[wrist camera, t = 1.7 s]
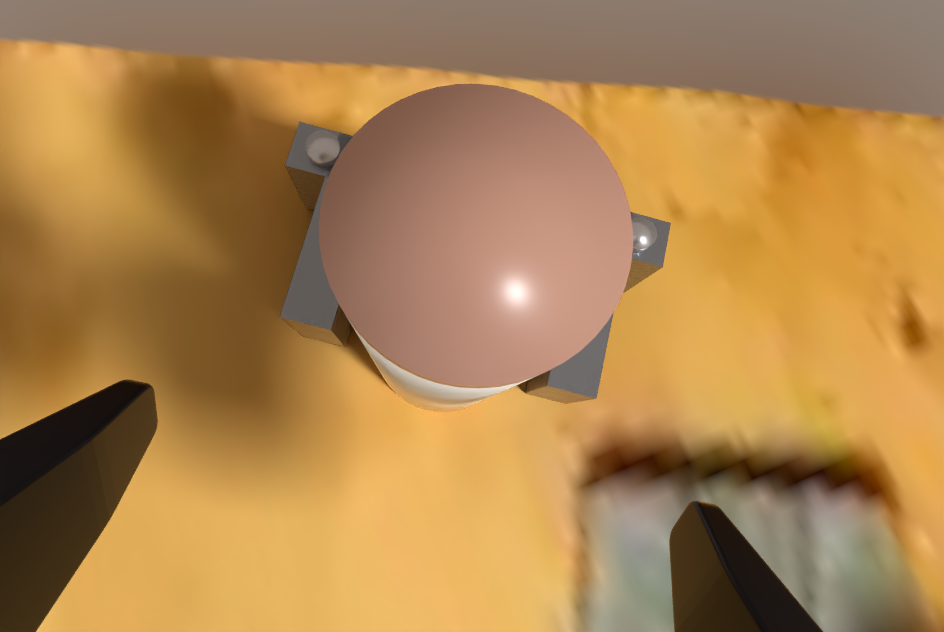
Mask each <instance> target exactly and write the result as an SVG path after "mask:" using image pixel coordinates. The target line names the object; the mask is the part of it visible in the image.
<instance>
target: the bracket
mask: <svg viewBox="0 0 944 632" xmlns="http://www.w3.org/2000/svg"><path fill="white" fill-rule="evenodd" d="M352 137H353V136H350V135H346V134H342V133H339V132H335V131H331V130H328V129H324V128H320V127H317V126H313V125H309V124H306V123H302V122H300V123H299V126H298V129H297V131H296V134H295V137H294V140H293V143H292V146H291V149H290V152H289V155H288V158H287V161H286V164H285V167H286V169H287V171H288V173H289V175H290V177H291V179H292V181H293V183H294V185H295V187H296V189H297V191H298V193H299V195H300V197H301V199H302V201H303V203H304V205H305V207H306V209H310V210H314V213H313V216H312V219H311V222H310V225H309V228H308V231H307V234H306V237H305V241H304V244H303V247H302V250H301V253H300V256H299V259H298V262H297V265H296V268H295V271H294V275H293V278H292V281H291V284H290V287H289V290H288V293H287V296H286V299H285V302H284V305H283V308H282V312H281V315H280V318H281V319H283V320H284V321H285V322H286V323H287V324H289V325H290V326H291V327H292V328H293V329H295V330H296V331H297V332H298V333H299V334H301V335H302V336H304V337H308V338H311V339H315V340H319V341H323V342H327V343H331V344H335V345H339V346H343V347H345V346H346V342H347V339H348V336H349V332H350V329H351V326H352V325H351V323H350V322H349V320H348V318H347V317H346V315H345V313H344V312H343V310H342V308H341V307H340V305H339V303H338V301H337V299H336V297H335V295H334V293H333V291H332V289H331V287H330V285H329V282H328V279H327V276H326V273H325V270H324V267H323V262H322V257H321V251H320V246H319V216H320V206H321V201H322V197H323V193H324V189H325V185H326V183H327V180H328V178H329V175H330V173H331V170H332V168H333V166H334V164H335V162H336V161H337V159H338V157H339V155H340V154H341V152H342V150H343V149H344V148H345V146H346V145H347V144H348V142H349V141H350V140H351V138H352ZM630 213H631V220H632V227H633V252H632V260H631V268H630V272H629V275H628V279H627V283H626V286H625V289H624V291H623V293H624V292H626V291H627V290H629V289H630V288H632V287H633V286H635V285H636V284H638V283H639V282H641V281H642V280H644V279H645V278H647V277H648V276H650V275H651V274H653V273H655V272H656V271H658V270H659V269H661V268H662V267H663V263H664V257H665V252H666V246H667V241H668V235H669V230H670V224H671V223H669V222H665V221H661V220H658V219H654V218H650V217H647V216H643V215H639V214H636V213H632V212H630ZM612 317H613V313H612V315H611V317H610V319H609V320H608V322H607V323H606V324H605V325H604V327H603V328H602V329H601V330H600V332H599V333H598V334H597V335H596V337H595V338H594V339H593V340H591V341H590V342H589V343H588V344H587V345H586V346H585V347H584V348H583V349H582V350H581V351H580V352H578V353H577V354H575V355H574V356H573V357H571V358H570V359H568V360H567V361H565V362H564V363H562V364H560V365H558V366H556V367H555V368H553V369H551V370H549V371H547V372H545V373H543V374H540V375H538V376H536V377H534V378H531V379H529V380H528V384H527V388H526V394H530V395H534V396H538V397H542V398H546V399H550V400H553V401H557V402H561V403H565V404H568V403H574V402H579V401H585V400H591V399H596V398H597V393H598V388H599V383H600V378H601V373H602V368H603V362H604V357H605V352H606V347H607V342H608V337H609V332H610V327H611V322H612Z"/></svg>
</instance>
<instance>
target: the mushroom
mask: <svg viewBox="0 0 944 632" xmlns="http://www.w3.org/2000/svg"><path fill="white" fill-rule="evenodd" d="M319 246H320V251H321V257H322V262H323V267H324V270H325V273H326V276H327V279H328V282H329V285H330V287H331V289H332V291H333V293H334V295H335V297H336V299H337V301H338V303H339V305H340V307H341V308H342V310H343V312H344V313H345V315H346V317H347V318H348V320H349V322H350V323H351V325H352V327H353V328H354V330H355V332H356V333H357V335H358V337H359V338H360V340H361V342H362V343H363V345H364V347H365V348H366V350H367V352H368V353H369V355H370V357H371V358H372V360H373V362H374V363H375V365H376V367H377V368H378V370H379V371H380V373H381V375H382V376H383V378H384V380H385V381H386V383H387V384H388V385H389V387H390V388H391V389H392V390H393V391H394V392H395V393H396V394H397V395H398V396H399V397H401V398H402V399H403V400H405V401H407V402H408V403H410V404H412V405H414V406H416V407H419V408H422V409H425V410H430V411H437V412H448V411H455V410H460V409H463V408H466V407H469V406H471V405H473V404H476V403H478V402H480V401H482V400H485V399H487V398H489V397H491V396H494V395H496V394H498V393H500V392H502V391H505V390H507V389H509V388H511V387H514V386H516V385H518V384H520V383H523V382H525V381H527V380H529V379H531V378H534V377H536V376H538V375H540V374H543V373H545V372H547V371H549V370H551V369H553V368H555V367H556V366H558V365H560V364H562V363H564V362H565V361H567V360H568V359H570V358H571V357H573V356H574V355H575V354H577V353H578V352H580V351H581V350H582V349H583V348H584V347H585V346H586V345H587V344H588V343H589V342H590V341H591V340H593V339H594V338H595V337H596V335H597V334H598V333H599V332H600V330H601V329H602V328H603V327H604V325H605V324H606V323H607V322H608V320H609V319H610V317H611V315H612V313H613V312H614V310H615V308H616V307H617V305H618V303H619V301H620V298H621V296H622V294H623V291H624V289H625V286H626V283H627V279H628V275H629V272H630V268H631V260H632V252H633V227H632V220H631V213H630V208H629V204H628V201H627V197H626V193H625V190H624V188H623V186H622V183H621V181H620V179H619V176H618V174H617V172H616V170H615V169H614V167H613V165H612V163H611V162H610V160H609V158H608V157H607V155H606V154H605V153H604V151H603V150H602V149H601V147H600V146H599V145H598V143H597V142H596V141H595V140H594V139H593V138H592V137H591V136H590V135H589V134H588V133H587V132H586V131H585V129H584V128H583V127H581V126H580V125H579V124H578V123H576V122H575V121H574V120H573V119H572V118H570V117H569V116H568V115H566V114H565V113H563V112H562V111H560V110H558V109H557V108H555V107H554V106H552V105H550V104H548V103H546V102H544V101H542V100H540V99H538V98H536V97H534V96H531V95H528V94H525V93H522V92H519V91H517V90H513V89H508V88H504V87H499V86H493V85H482V84H456V85H449V86H442V87H436V88H433V89H429V90H425V91H421V92H418V93H416V94H413V95H411V96H408V97H406V98H403V99H401V100H399V101H397V102H396V103H394V104H392V105H390V106H389V107H387V108H385V109H383V110H382V111H381V112H380V113H378V114H377V115H376V116H374V117H373V118H372V119H370V120H369V121H368V122H367V123H366V124H365V125H364V126H363V127H362V128H361V129H360V130H359V131H358V132H357V133H356V134H355V135H354V136H353V137H352V138H351V140H350V141H349V142H348V144H347V145H346V146H345V148H344V149H343V150H342V152H341V154H340V155H339V157H338V159H337V161H336V162H335V164H334V166H333V168H332V170H331V173H330V175H329V178H328V180H327V183H326V185H325V189H324V193H323V197H322V201H321V206H320V216H319Z"/></svg>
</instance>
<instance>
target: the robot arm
mask: <svg viewBox="0 0 944 632" xmlns="http://www.w3.org/2000/svg"><path fill="white" fill-rule="evenodd" d="M157 422H158V419H157V411H156V402H155V394H154V389H153V387H152V386H151V385H149V384H147V383H143V382H138V381H133V380H122V381H119V382H117V383H115V384H113V385H111V386H109V387H107V388H105V389H103V390H101V391H99V392H97V393H95V394H93V395H90V396H88V397H86V398H84V399H82V400H80V401H78V402H76V403H74V404H72V405H70V406H68V407H66V408H64V409H62V410H60V411H58V412H56V413H53V414H51V415H49V416H47V417H45V418H43V419H41V420H39V421H37V422H35V423H33V424H31V425H29V426H27V427H25V428H23V429H21V430H19V431H16V432H14V433H12V434H10V435H8V436H6V437H4V438H2V439H0V632H36V631H37V629H38V628H39V626H40V625H41V623H42V622H43V620H44V619H45V617H46V616H47V614H48V613H49V611H50V610H51V608H52V607H53V605H54V604H55V602H56V601H57V599H58V598H59V596H60V595H61V593H62V592H63V590H64V589H65V587H66V586H67V584H68V583H69V581H70V580H71V578H72V577H73V575H74V574H75V572H76V571H77V569H78V568H79V566H80V565H81V563H82V562H83V560H84V559H85V557H86V555H87V554H88V552H89V551H90V549H91V548H92V546H93V545H94V543H95V542H96V540H97V539H98V537H99V536H100V534H101V533H102V531H103V530H104V528H105V527H106V525H107V523H108V522H109V520H110V518H111V517H112V515H113V513H114V511H115V509H116V508H117V506H118V504H119V502H120V500H121V498H122V496H123V494H124V492H125V490H126V488H127V486H128V485H129V483H130V481H131V479H132V477H133V475H134V473H135V471H136V469H137V467H138V465H139V463H140V461H141V459H142V458H143V456H144V454H145V452H146V450H147V448H148V446H149V444H150V442H151V440H152V438H153V436H154V434H155V431H156V428H157ZM670 561H671V580H672V598H673V617H674V629H675V632H823V631H822V630H821V628H820V627H819V626H818V625H817V624H816V622H815V621H814V620H813V619H812V618H811V616H810V615H809V614H808V613H807V612H806V610H805V609H804V608H803V607H802V606H801V604H800V603H799V602H798V601H797V600H796V598H795V597H794V596H793V595H792V594H791V592H790V591H789V590H788V589H787V588H786V586H785V585H784V584H783V583H782V582H781V580H780V579H779V578H778V577H777V576H776V574H775V573H774V572H773V571H772V570H771V569H770V567H769V566H768V565H767V564H766V563H765V561H764V560H763V559H762V558H761V557H760V555H759V554H758V553H757V552H756V551H755V549H754V548H753V547H752V546H751V545H750V543H749V542H748V541H747V540H746V539H745V537H744V536H743V535H742V534H741V533H740V531H739V530H738V529H737V528H736V527H735V525H734V524H733V523H732V522H731V521H730V519H729V518H728V517H727V516H726V515H725V513H724V512H723V511H722V510H721V509H720V508H719V507H718V506H716V505H714V504H710V503H705V502H700V501H692V502H691V503H689V505H688V506H687V507H686V509H685V510H684V512H683V513H682V515H681V516H680V518H679V519H678V521H677V522H676V524H675V525H674V527H673V529H672V531H671V535H670Z"/></svg>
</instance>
